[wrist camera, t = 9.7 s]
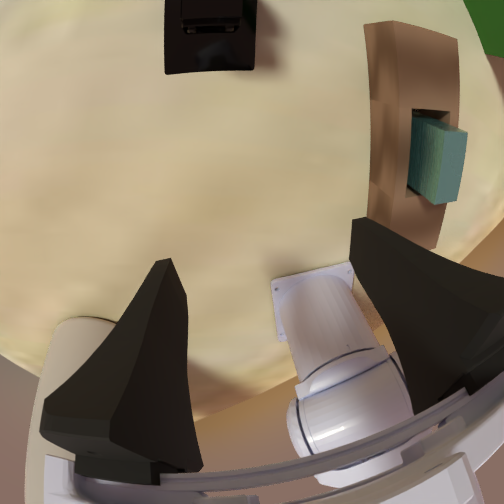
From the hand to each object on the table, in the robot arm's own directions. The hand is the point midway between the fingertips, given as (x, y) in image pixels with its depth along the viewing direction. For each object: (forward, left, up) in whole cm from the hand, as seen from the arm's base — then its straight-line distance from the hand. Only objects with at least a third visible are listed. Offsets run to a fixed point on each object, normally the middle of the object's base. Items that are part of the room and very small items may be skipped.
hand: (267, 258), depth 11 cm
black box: (+12, 0, -10) cm, 16 cm away
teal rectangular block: (+1, -13, -10) cm, 16 cm away
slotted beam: (+1, -13, -9) cm, 16 cm away
